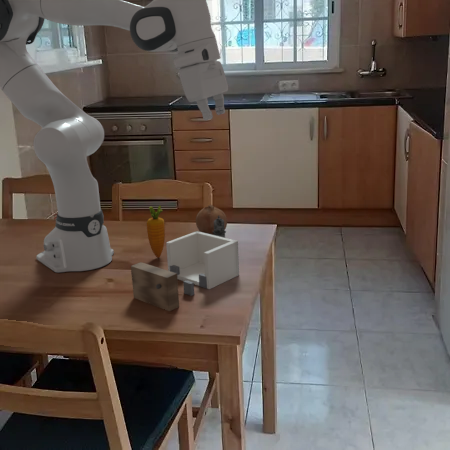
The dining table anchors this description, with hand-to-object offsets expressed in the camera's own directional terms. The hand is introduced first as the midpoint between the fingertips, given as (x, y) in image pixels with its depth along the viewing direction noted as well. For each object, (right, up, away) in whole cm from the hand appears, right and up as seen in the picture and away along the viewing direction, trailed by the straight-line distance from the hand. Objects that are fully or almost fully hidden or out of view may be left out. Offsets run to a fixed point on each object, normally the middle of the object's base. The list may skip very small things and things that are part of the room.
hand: (215, 116), depth 133 cm
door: (-13, -42, -1) cm, 44 cm away
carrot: (-16, -34, +27) cm, 46 cm away
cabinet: (-5, -38, +12) cm, 40 cm away
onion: (-2, -29, +43) cm, 51 cm away
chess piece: (+1, -34, +25) cm, 42 cm away
